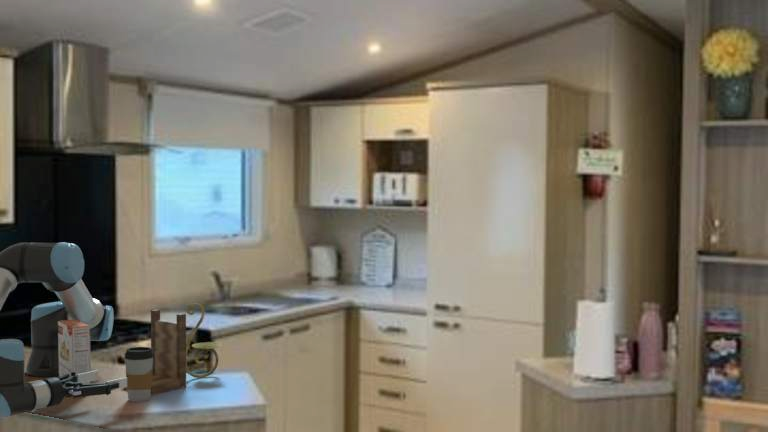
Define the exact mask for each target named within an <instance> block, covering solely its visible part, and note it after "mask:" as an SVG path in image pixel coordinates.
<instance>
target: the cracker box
mask: <svg viewBox="0 0 768 432" xmlns="http://www.w3.org/2000/svg"><path fill="white" fill-rule="evenodd" d="M58 352H59V375H58V378H59V377H61V376H63V375H66V374H70V376H71V372H75V376H76V374H81V373H86V372H91V371H92V369H91V367H92V365H91V362H92V361H91V341H90V326H89V325H86V324H84V323H82V322H80V321H78V320H76V319H72V320H61V321H58ZM90 383H92V381H90V382H86V383H83V384H90ZM78 387H79V385H78Z"/></svg>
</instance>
